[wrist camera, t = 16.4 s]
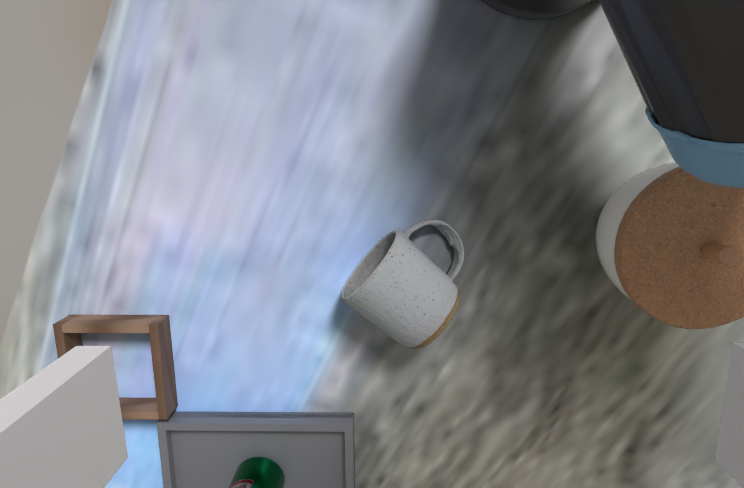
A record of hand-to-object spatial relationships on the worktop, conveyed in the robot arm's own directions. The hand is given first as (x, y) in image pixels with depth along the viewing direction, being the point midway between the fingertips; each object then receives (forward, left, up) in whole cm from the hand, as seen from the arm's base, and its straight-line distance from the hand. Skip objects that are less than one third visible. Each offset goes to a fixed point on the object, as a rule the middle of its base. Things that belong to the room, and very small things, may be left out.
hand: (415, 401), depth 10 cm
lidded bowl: (-23, +3, -35) cm, 42 cm away
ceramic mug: (-2, +6, -35) cm, 36 cm away
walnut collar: (+26, +16, -35) cm, 46 cm away
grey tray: (+13, +28, -35) cm, 46 cm away
